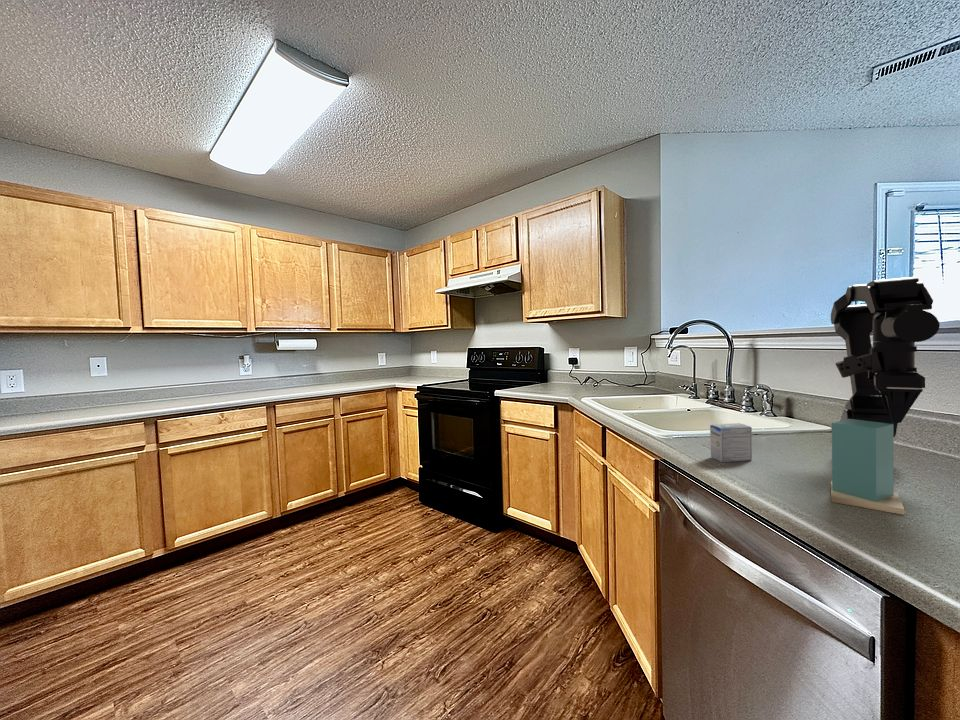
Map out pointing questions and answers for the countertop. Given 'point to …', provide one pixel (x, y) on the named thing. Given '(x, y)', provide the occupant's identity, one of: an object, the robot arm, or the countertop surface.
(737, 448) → the medicine box
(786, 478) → the countertop surface
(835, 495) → the peg stand
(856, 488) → the teal tall cube
